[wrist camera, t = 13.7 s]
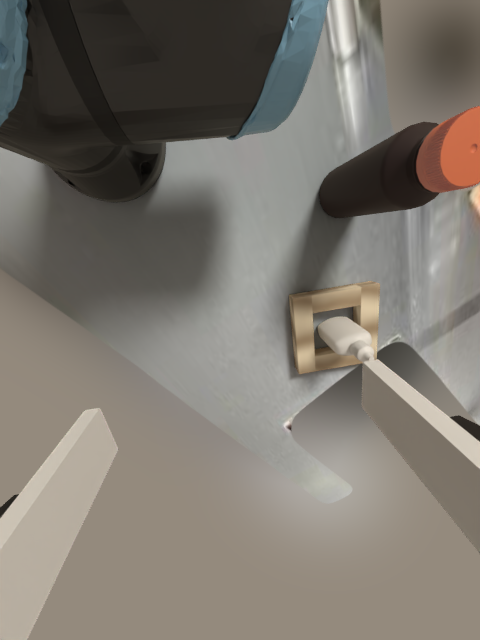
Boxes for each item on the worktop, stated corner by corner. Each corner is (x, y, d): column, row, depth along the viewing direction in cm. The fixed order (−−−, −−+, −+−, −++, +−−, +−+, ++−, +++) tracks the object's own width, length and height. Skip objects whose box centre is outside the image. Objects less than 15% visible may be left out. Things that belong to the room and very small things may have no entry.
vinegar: (356, 158, 34) (521, 65, 15) (368, 206, 36) (523, 177, 18) (312, 179, 35) (418, 116, 16) (325, 226, 37) (433, 218, 18)
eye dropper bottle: (342, 339, 44) (384, 376, 33) (313, 334, 43) (346, 370, 32) (351, 317, 42) (397, 347, 31) (321, 311, 42) (358, 340, 30)
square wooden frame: (288, 294, 40) (292, 298, 38) (370, 280, 40) (380, 283, 38) (295, 366, 45) (299, 374, 43) (368, 354, 45) (376, 360, 43)
